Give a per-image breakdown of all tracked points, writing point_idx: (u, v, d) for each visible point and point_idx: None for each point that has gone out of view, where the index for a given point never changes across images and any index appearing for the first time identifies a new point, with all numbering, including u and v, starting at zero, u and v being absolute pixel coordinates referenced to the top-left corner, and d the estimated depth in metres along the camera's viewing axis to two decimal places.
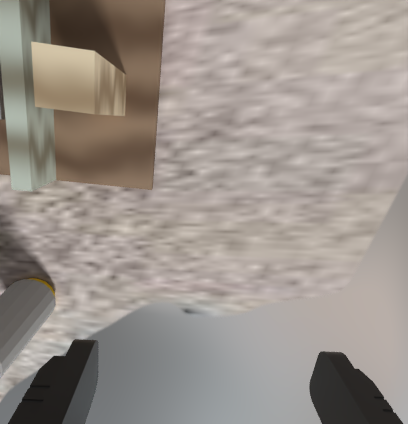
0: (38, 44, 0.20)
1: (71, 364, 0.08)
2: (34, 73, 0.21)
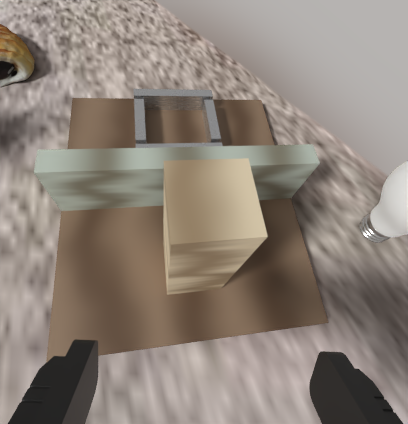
0: (248, 166, 0.15)
1: (71, 364, 0.08)
2: (209, 161, 0.15)
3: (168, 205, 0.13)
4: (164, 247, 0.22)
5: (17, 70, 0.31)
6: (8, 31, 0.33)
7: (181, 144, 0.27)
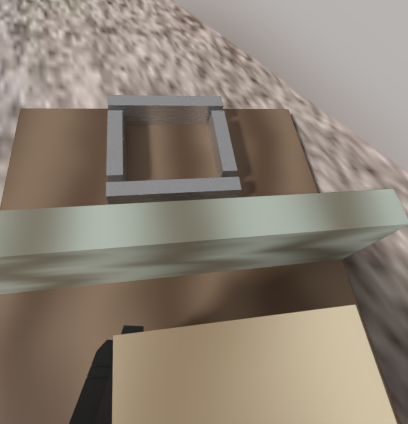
0: (358, 333, 0.05)
1: None
2: (249, 319, 0.05)
3: None
4: None
5: None
6: None
7: (177, 181, 0.18)
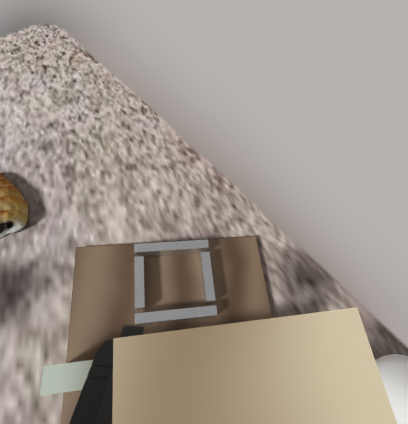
0: (360, 336, 0.05)
1: None
2: (250, 321, 0.05)
3: None
4: None
5: (13, 223, 0.33)
6: (1, 181, 0.34)
7: (178, 310, 0.29)
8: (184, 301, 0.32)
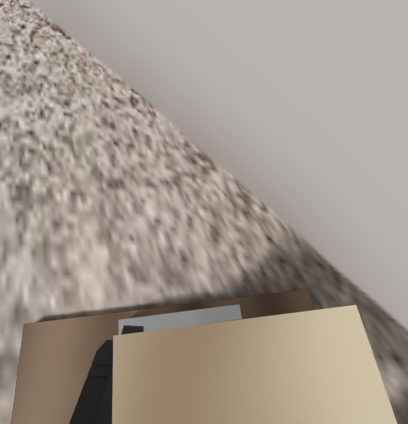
0: (359, 333, 0.05)
1: None
2: (249, 318, 0.05)
3: None
4: None
5: None
6: None
7: None
8: None
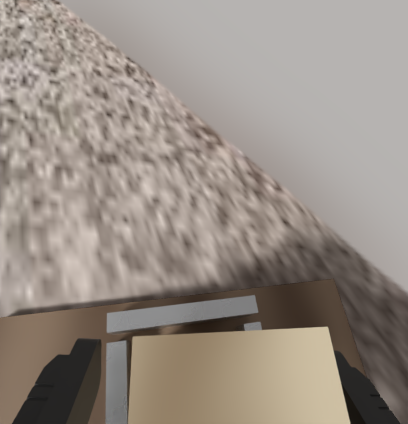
0: (328, 350, 0.06)
1: (75, 362, 0.08)
2: (240, 331, 0.06)
3: None
4: None
5: None
6: None
7: None
8: None
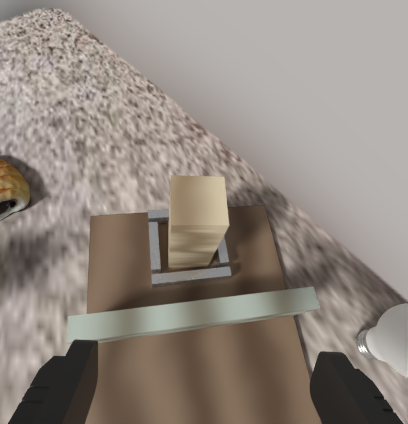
0: (223, 181, 0.24)
1: (71, 364, 0.08)
2: (199, 177, 0.24)
3: (171, 202, 0.22)
4: None
5: (15, 201, 0.33)
6: None
7: (193, 271, 0.30)
8: None
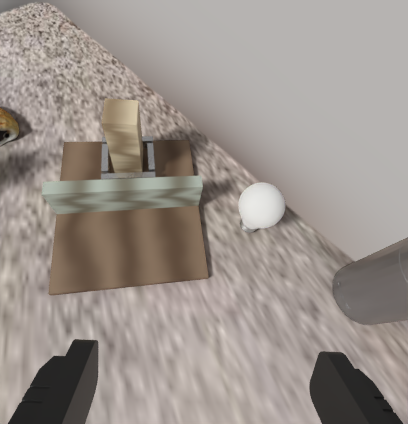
0: (137, 103, 0.39)
1: (71, 364, 0.08)
2: (123, 100, 0.39)
3: (103, 112, 0.37)
4: None
5: (9, 133, 0.48)
6: None
7: (129, 173, 0.45)
8: None
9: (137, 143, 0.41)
